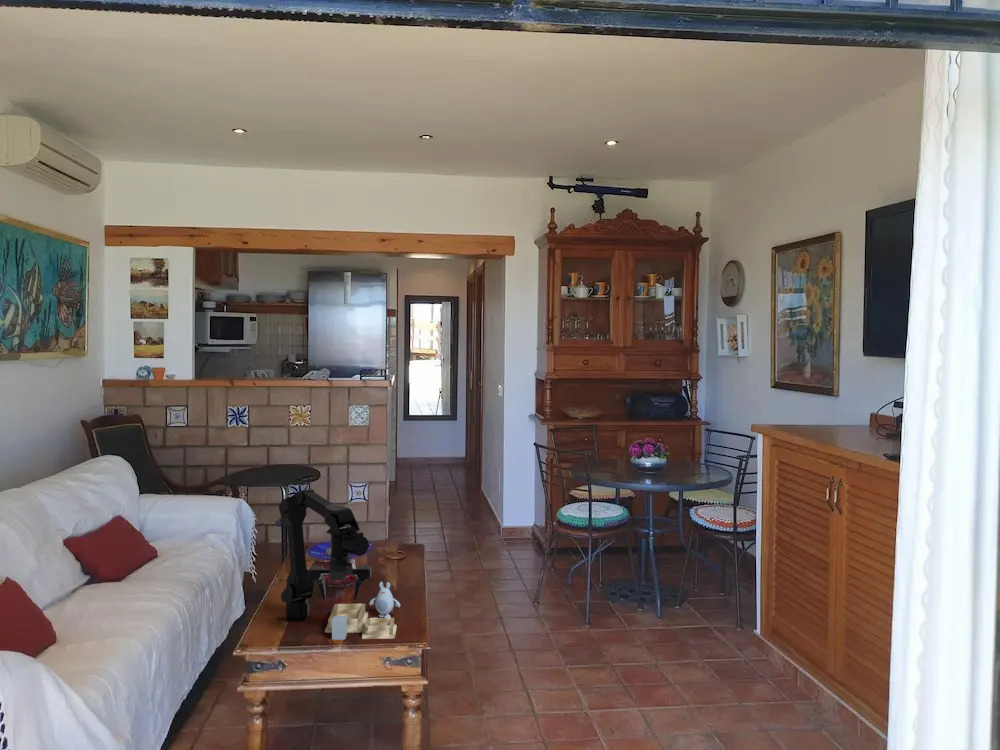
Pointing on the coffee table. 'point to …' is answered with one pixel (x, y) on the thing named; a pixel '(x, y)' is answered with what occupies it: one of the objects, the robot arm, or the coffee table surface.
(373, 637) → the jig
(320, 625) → the coffee table surface
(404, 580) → the coffee table surface
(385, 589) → the toy figure
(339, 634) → the block
